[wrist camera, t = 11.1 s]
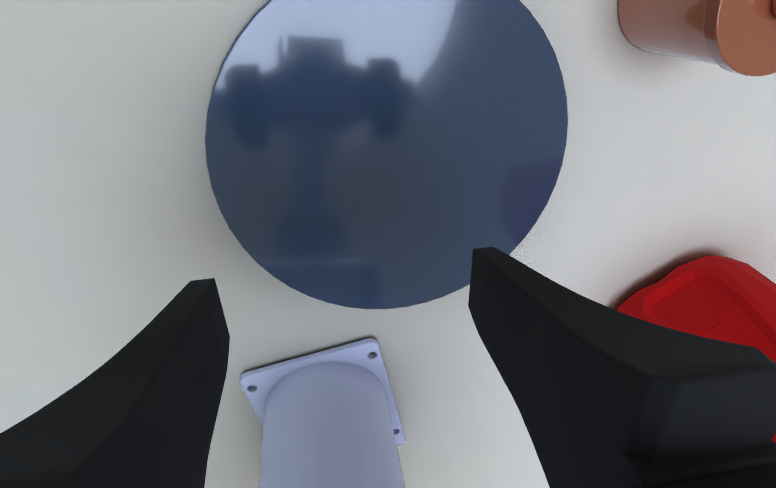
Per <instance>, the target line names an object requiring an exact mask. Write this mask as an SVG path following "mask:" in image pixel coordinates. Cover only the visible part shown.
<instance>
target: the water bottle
mask: <svg viewBox="0 0 776 488" xmlns="http://www.w3.org/2000/svg"><path fill="white" fill-rule="evenodd" d="M616 311H619V312H621V313H624V314H627V315H630V316H633V317H636V318H639V319H642V320H645V321H648V322H651V323H654V324H657V325H660V326H664V327H667V328H671V329H674V330H678V331H682V332H686V333H690V334H694V335H698V336H702V337H706V338H711V339H716V340H721V341H726V342H731V343H736V344H741V345H746V346H751V347H756V348H758V349H759V350H760V351H761V352H763V353H764V354H765V355H766V356H768V357H769V358H770V359H771V360H773V361H774V362H775V363H776V284H775V283H773V282H772V281H771V280H769V279H768V278H766V277H765V276H764V275H762V274H761V273H759V272H758V271H757V270H755V269H754V268H753V267H751V266H750V265H748V264H746V263H743V262H740V261H737V260H734V259H731V258H728V257H721V256H713V255H708V256H705V257H702V258H698V259H695V260H692V261H690V262H687V263H685V264H682V265H680V266H678V267H677V268H675V269H674V270H673V271H671V272H670V273H669V274H667V275H666V276H665V277H663V278H662V279H661V280H660V281H658V282H656V283H654V284H652V285H650V286H647V287H645V288H643V289H641V290H638V291H637V292H636V293H635V294H633V295H632V296H631V297H629V298H628V299H627V300H625V301H624V302H623V303H622V304H620V306H619V307H618V309H617V310H616ZM772 440H773V441H774V442H775V443H776V434H775V435H774V437H773V439H772Z"/></svg>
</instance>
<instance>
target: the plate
mask: <svg viewBox="0 0 776 488" xmlns="http://www.w3.org/2000/svg"><path fill="white" fill-rule="evenodd" d="M567 126H568V114H567V97H566V92H565V87H564V82H563V77H562V73H561V70H560V67H559V64H558V61H557V58H556V55H555V52H554V50H553V48H552V46H551V44H550V42H549V40H548V38H547V36H546V34H545V33H544V31H543V29H542V28H541V26H540V25H539V23H538V22H537V21H536V19H535V18H534V16H533V15H532V14H531V12H530V11H529V10H528V9H527V8H526V7H525V6H524V5H523V3H522V2H521V1H520V0H269V1H268V2H266V3H265V4H264V5H263V6H262V7H261V8H260V9H259V10H258V11H257V12H256V13H255V14H254V15H253V16H252V18H251V19H250V20H249V22H248V23H247V24H246V26H245V27H244V28H243V29H242V31H241V32H240V33H239V35H238V36H237V37H236V39H235V41H234V43H233V44H232V46H231V48H230V50H229V51H228V53H227V55H226V57H225V58H224V60H223V62H222V65H221V67H220V70H219V73H218V75H217V78H216V81H215V83H214V86H213V89H212V94H211V98H210V102H209V107H208V111H207V121H206V133H205V145H206V161H207V168H208V172H209V177H210V182H211V187H212V190H213V192H214V195H215V198H216V201H217V204H218V206H219V209H220V211H221V213H222V215H223V217H224V219H225V221H226V222H227V224H228V226H229V228H230V230H231V231H232V233H233V234H234V236H235V237H236V238H237V240H238V241H239V243H240V244H241V245H242V247H243V248H244V249H245V250H246V251H247V252H248V253H249V254H250V255H251V257H252V258H253V259H254V260H255V261H256V262H257V263H258V264H259V265H260V266H262V267H263V268H264V269H265V270H266V271H268V272H269V273H270V274H271V275H273V276H274V277H275V278H277V279H278V280H280V281H282V282H283V283H285V284H286V285H288V286H289V287H291V288H293V289H295V290H297V291H299V292H301V293H303V294H305V295H308V296H310V297H313V298H316V299H319V300H322V301H324V302H327V303H332V304H336V305H341V306H345V307H352V308H362V309H390V308H399V307H407V306H412V305H416V304H421V303H425V302H428V301H431V300H434V299H437V298H441V297H444V296H446V295H448V294H450V293H453V292H455V291H457V290H459V289H462V288H463V287H465V286H467V285H469V284H470V278H471V265H472V253H473V249H477V248H486V247H495V248H497V249H499V250H501V251H502V252H504V253H506V254H508V255H509V254H510V253H511V252H512V251H513V250H514V249H515V248H516V247H517V246H518V245H519V243H520V242H521V241H522V240H523V239H524V238H525V237H526V235H527V234H528V232H529V231H530V230H531V228H532V227H533V226H534V224H535V223H536V222H537V220H538V218H539V217H540V215H541V213H542V211H543V210H544V208H545V206H546V205H547V203H548V200H549V198H550V196H551V194H552V192H553V189H554V187H555V185H556V182H557V179H558V176H559V172H560V169H561V166H562V162H563V157H564V152H565V147H566V140H567Z"/></svg>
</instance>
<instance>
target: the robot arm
mask: <svg viewBox="0 0 776 488" xmlns="http://www.w3.org/2000/svg"><path fill="white" fill-rule="evenodd" d="M468 306H469V309H470V312H471V315H472V318H473V320H474V323H475V326H476V328H477V331H478V333H479V335H480V337H481V339H482V341H483V343H484V345H485V347H486V349H487V351H488V352H489V354H490V356H491V358H492V360H493V362H494V363H495V365H496V367H497V369H498V371H499V372H500V374H501V376H502V378H503V380H504V382H505V383H506V385H507V387H508V389H509V391H510V393H511V394H512V396H513V398H514V400H515V402H516V404H517V406H518V408H519V411H520V413H521V415H522V418H523V420H524V423H525V425H526V427H527V430H528V432H529V435H530V437H531V439H532V442H533V445H534V447H535V450H536V452H537V455H538V457H539V460H540V463H541V465H542V468H543V470H544V473H545V476H546V478H547V481H548V484H549V487H550V488H776V443H775V442H774V441H773V440H772V439H773V437H774V435H775V434H776V363H775V362H774V361H773V360H771V359H770V358H769V357H768V356H766V355H765V354H764V353H763V352H761V351H760V350H759V349H758V348H756V347H751V346H746V345H741V344H736V343H731V342H726V341H721V340H716V339H711V338H706V337H702V336H698V335H694V334H690V333H686V332H682V331H678V330H674V329H671V328H667V327H664V326H660V325H657V324H654V323H651V322H648V321H645V320H642V319H639V318H636V317H633V316H630V315H627V314H624V313H621V312H619V311H616V310H614V309H611V308H609V307H606V306H604V305H602V304H599V303H597V302H594V301H592V300H590V299H588V298H585V297H583V296H581V295H579V294H577V293H575V292H573V291H571V290H569V289H567V288H565V287H563V286H561V285H559V284H558V283H556V282H554V281H552V280H550V279H548V278H547V277H545V276H543V275H541V274H540V273H538V272H536V271H535V270H533V269H531V268H529V267H528V266H526V265H524V264H523V263H521V262H519V261H518V260H516V259H514V258H513V257H511V256H509V255H508V254H506V253H504V252H502V251H501V250H499V249H497V248H495V247H486V248H477V249H473V253H472V265H471V278H470V291H469V303H468ZM229 340H230V336H229V332H228V328H227V325H226V321H225V317H224V313H223V309H222V305H221V301H220V298H219V294H218V290H217V286H216V282H215V278H212V279H203V280H194V281H190V282H189V283H188V284H187V285H186V286H185V287H184V288H183V289H182V290H181V291H180V292H179V293H178V294H177V295H176V296H175V297H174V299H173V300H172V301H171V302H170V303H169V304H168V305H167V306H166V307H165V308H164V309H163V310H162V311H161V312H160V313H159V314H158V315H157V316H156V317H155V318H154V319H153V320H152V321H151V322H150V323H149V324H148V325H147V326H146V327H145V328H144V329H143V330H142V331H141V332H140V333H139V334H138V335H136V336H135V337H134V338H133V339H132V340H131V341H130V342H129V343H128V344H127V345H126V346H124V347H123V348H122V349H121V350H120V351H119V352H118V353H117V354H116V355H114V356H113V357H112V358H111V359H110V360H108V361H107V362H106V363H105V364H103V365H102V366H101V367H100V368H98V369H97V370H96V371H95V372H93V373H92V374H91V375H89V376H88V377H87V378H85V379H84V380H83V381H81V382H80V383H79V384H77V385H76V386H74V387H73V388H72V389H70V390H69V391H67V392H66V393H64V394H63V395H61V396H60V397H58V398H57V399H55V400H54V401H52V402H51V403H49V404H48V405H46V406H45V407H43V408H42V409H40V410H39V411H37V412H36V413H34V414H32V415H31V416H29V417H27V418H26V419H24V420H23V421H21V422H19V423H18V424H16V425H14V426H13V427H11V428H9V429H7V430H6V431H4V432H2V433H0V488H204V485H205V476H206V468H207V460H208V454H209V449H210V444H211V439H212V435H213V430H214V426H215V422H216V417H217V413H218V408H219V404H220V400H221V395H222V391H223V386H224V382H225V377H226V372H227V365H228V354H229ZM371 352H375V353H373V354H369V353H371ZM240 385H241V387H242V389H243V390H244V392H245V394H246V396H247V398H248V400H249V402H250V403H251V405H252V407H253V409H254V411H255V413H256V415H257V416H258V418H259V420H260V422H261V424H262V426H263V438H262V452H261V465H260V479H259V488H406V487H405V483H404V478H403V473H402V469H401V464H400V459H399V455H398V450H397V446H399V445H401V444H403V443H404V442H405V435H404V431H403V428H402V424H401V421H400V417H399V414H398V410H397V407H396V403H395V400H394V396H393V393H392V389H391V386H390V382H389V379H388V375H387V372H386V368H385V365H384V361H383V358H382V354H381V351H380V347H379V344H378V342H377V340H375V339H373V338H369V339H365V340H361V341H357V342H354V343H350V344H346V345H343V346H339V347H336V348H332V349H328V350H325V351H321V352H317V353H314V354H310V355H306V356H303V357H299V358H295V359H292V360H288V361H285V362H281V363H277V364H274V365H270V366H266V367H263V368H259V369H255V370H252V371H248V372H245V373H243V374H242V375H241V377H240ZM250 385H254V386H255V387H251V386H250Z"/></svg>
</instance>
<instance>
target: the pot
mask: <svg viewBox="0 0 776 488" xmlns="http://www.w3.org/2000/svg"><path fill="white" fill-rule="evenodd" d="M618 15H619V22H620V26H621V29H622V31H623V33H624V35H625V37H626V38H627V39H628V41H629V42H630V43H631V44H633V45H634V46H635V47H637V48H639V49H642V50H645V51H650V52H655V53H660V54H665V55H670V56H675V57H680V58H685V59H690V60H695V61H700V62H705V63H711V64H716V65H719V66H720V67H721V68H723V69H725V70H727V71H730V72H733V73H737V74H742V75H747V76H763V75H769V74H772V73H775V72H776V0H619V3H618Z"/></svg>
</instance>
